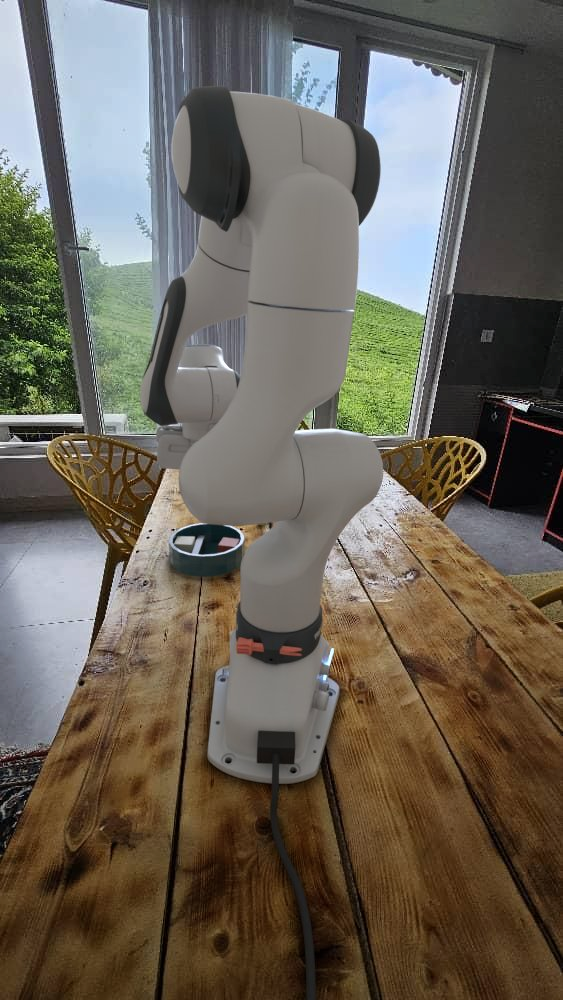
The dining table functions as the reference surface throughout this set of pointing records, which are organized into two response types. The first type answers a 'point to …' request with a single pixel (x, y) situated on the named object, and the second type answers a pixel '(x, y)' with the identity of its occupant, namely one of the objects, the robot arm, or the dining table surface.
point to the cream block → (185, 543)
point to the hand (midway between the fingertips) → (205, 490)
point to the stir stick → (199, 545)
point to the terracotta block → (227, 544)
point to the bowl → (207, 551)
